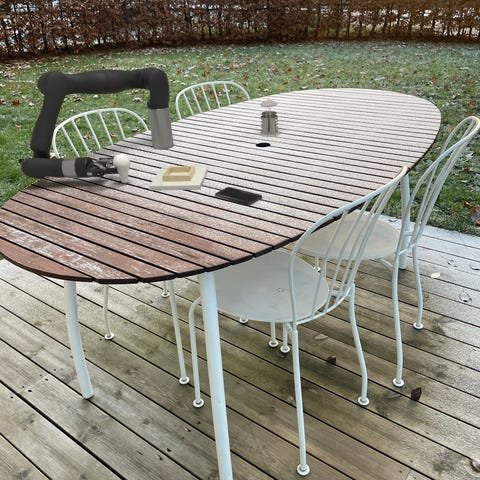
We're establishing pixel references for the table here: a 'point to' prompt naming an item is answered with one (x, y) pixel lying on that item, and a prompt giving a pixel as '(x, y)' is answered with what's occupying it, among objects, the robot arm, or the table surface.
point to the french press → (269, 118)
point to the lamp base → (179, 178)
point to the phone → (238, 196)
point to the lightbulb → (122, 166)
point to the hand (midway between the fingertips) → (121, 166)
